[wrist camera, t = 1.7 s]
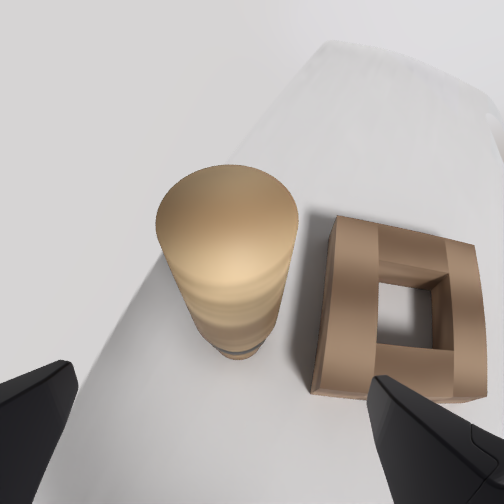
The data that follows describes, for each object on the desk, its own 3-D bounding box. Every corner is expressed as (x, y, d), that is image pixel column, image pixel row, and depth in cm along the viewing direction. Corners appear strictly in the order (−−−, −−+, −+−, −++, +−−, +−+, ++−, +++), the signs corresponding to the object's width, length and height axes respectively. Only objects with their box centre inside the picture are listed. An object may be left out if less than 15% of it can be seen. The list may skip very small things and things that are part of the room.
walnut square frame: (462, 402, 18) (486, 396, 15) (310, 393, 19) (319, 388, 16) (456, 263, 24) (474, 245, 21) (328, 238, 25) (337, 215, 22)
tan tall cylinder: (276, 363, 20) (314, 268, 9) (208, 372, 20) (155, 288, 9) (265, 301, 22) (281, 159, 11) (201, 310, 22) (157, 173, 11)
